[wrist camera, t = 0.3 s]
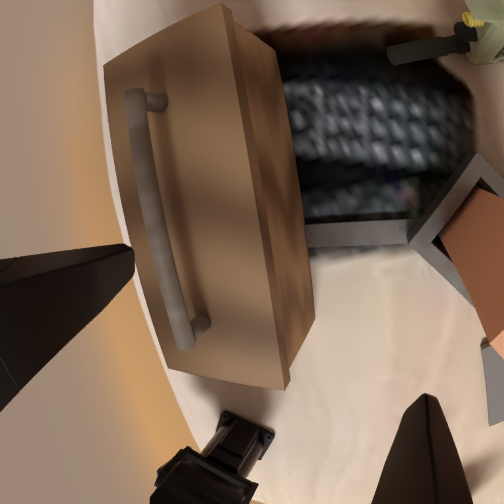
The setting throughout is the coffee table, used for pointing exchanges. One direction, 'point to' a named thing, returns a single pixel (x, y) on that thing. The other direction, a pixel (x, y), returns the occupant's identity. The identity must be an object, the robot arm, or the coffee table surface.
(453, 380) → the coffee table surface
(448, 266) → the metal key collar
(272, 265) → the walnut toolbox
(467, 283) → the salmon orange rectangular block
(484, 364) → the charcoal mat
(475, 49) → the handheld radio
